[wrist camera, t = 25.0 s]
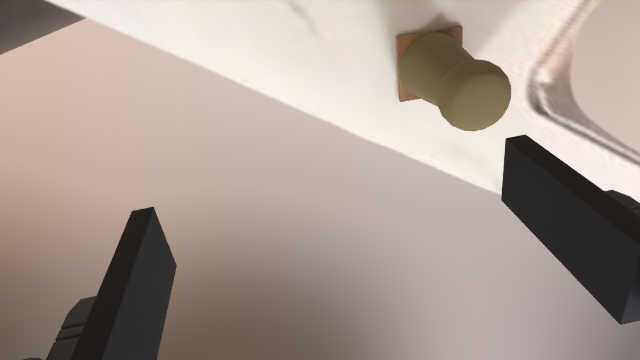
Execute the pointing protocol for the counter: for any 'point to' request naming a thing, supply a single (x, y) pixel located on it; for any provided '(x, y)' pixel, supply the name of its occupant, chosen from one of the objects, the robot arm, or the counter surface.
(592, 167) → the counter surface
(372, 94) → the counter surface
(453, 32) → the coaster
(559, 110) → the counter surface
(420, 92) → the pepper shaker
